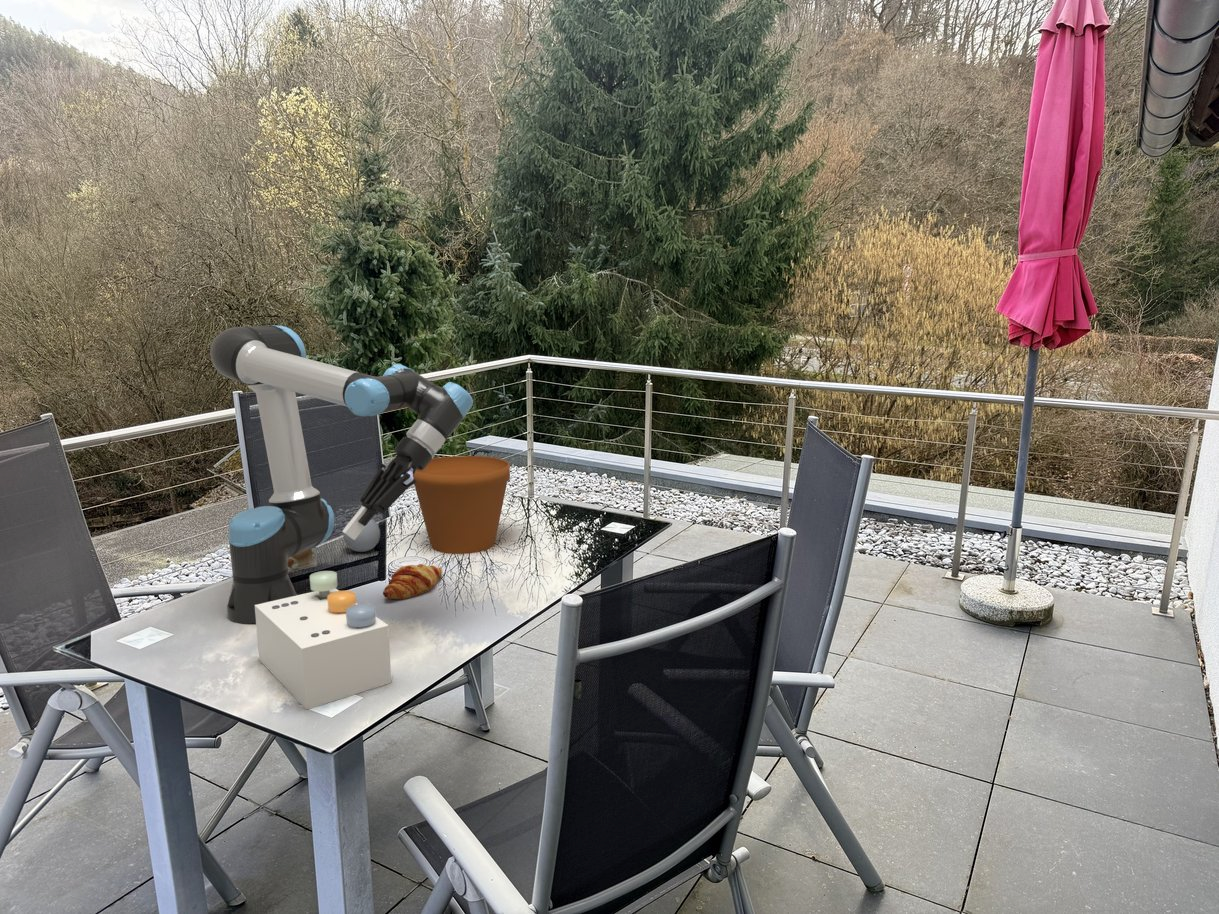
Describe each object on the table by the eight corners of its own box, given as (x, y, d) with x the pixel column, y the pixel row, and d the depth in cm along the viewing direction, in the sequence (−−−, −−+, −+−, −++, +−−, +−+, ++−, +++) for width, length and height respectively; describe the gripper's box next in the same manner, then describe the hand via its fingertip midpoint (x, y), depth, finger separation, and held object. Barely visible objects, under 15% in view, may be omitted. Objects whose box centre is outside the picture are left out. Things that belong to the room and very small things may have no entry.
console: (337, 638, 173) (333, 586, 171) (391, 682, 154) (388, 624, 151) (259, 659, 163) (254, 604, 161) (306, 709, 143) (301, 647, 141)
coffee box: (286, 574, 212) (281, 515, 208) (273, 569, 216) (268, 510, 212) (318, 566, 219) (314, 508, 215) (305, 561, 223) (301, 504, 219)
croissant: (432, 587, 213) (420, 559, 213) (460, 575, 208) (447, 547, 209) (377, 614, 194) (364, 583, 194) (407, 601, 190) (393, 570, 190)
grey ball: (387, 547, 235) (385, 513, 233) (369, 558, 225) (367, 523, 223) (356, 544, 237) (354, 511, 235) (337, 554, 228) (335, 520, 226)
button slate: (369, 628, 156) (367, 601, 155) (381, 637, 152) (379, 609, 151) (343, 635, 153) (341, 608, 152) (354, 644, 149) (352, 616, 148)
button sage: (332, 594, 169) (330, 569, 168) (342, 601, 165) (340, 575, 164) (307, 600, 166) (305, 574, 165) (317, 607, 162) (315, 581, 161)
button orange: (350, 614, 163) (348, 588, 162) (361, 622, 159) (359, 595, 158) (324, 621, 160) (323, 594, 159) (335, 629, 156) (333, 602, 155)
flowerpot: (495, 562, 223) (493, 478, 218) (398, 556, 227) (394, 474, 222) (522, 532, 250) (520, 457, 245) (434, 528, 254) (432, 454, 249)
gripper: (445, 461, 171) (375, 553, 164) (416, 452, 181) (348, 538, 174) (421, 439, 167) (347, 532, 159) (393, 431, 176) (322, 518, 169)
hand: (348, 535), depth 167 cm, fingers closed
